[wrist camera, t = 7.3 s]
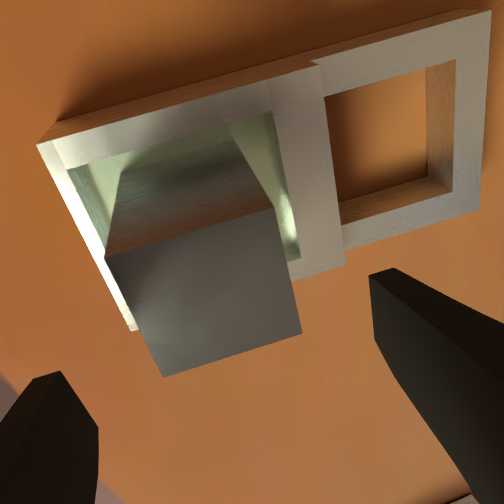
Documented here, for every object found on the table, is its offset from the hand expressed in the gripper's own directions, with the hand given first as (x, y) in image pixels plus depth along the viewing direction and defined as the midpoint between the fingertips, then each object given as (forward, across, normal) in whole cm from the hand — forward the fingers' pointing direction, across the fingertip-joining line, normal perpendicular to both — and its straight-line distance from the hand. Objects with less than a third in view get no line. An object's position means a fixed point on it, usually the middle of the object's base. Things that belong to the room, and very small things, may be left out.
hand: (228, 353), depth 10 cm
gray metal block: (+8, 0, 0) cm, 8 cm away
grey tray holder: (+10, -4, 0) cm, 11 cm away
